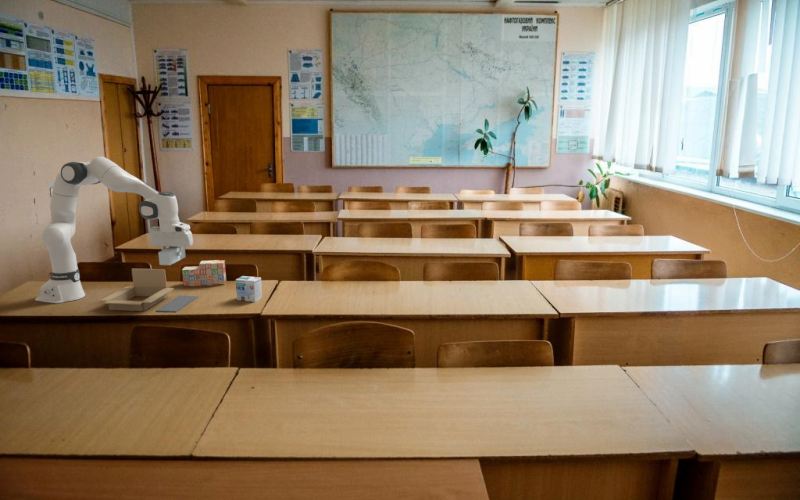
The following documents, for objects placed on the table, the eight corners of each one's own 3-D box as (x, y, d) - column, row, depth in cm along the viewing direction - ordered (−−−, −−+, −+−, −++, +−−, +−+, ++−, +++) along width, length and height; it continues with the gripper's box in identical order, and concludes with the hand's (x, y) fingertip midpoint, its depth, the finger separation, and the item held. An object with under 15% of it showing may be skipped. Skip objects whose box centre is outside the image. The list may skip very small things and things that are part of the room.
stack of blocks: (183, 286, 314) (181, 264, 311) (186, 283, 320) (183, 261, 317) (224, 285, 317) (222, 262, 314) (226, 281, 323) (224, 259, 320)
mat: (155, 311, 277) (155, 310, 276) (179, 296, 298) (179, 295, 298) (176, 312, 275) (176, 311, 275) (198, 297, 296) (198, 296, 296)
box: (159, 264, 274) (157, 248, 272) (175, 256, 289) (174, 240, 287) (169, 265, 274) (168, 248, 272) (185, 257, 288) (183, 240, 286)
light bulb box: (236, 300, 291) (234, 279, 289) (244, 296, 297) (242, 275, 295) (255, 302, 288) (254, 281, 286) (262, 298, 294) (261, 277, 292)
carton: (97, 311, 278) (93, 282, 274) (128, 294, 302) (124, 268, 298) (148, 313, 274) (144, 284, 271) (175, 296, 298) (172, 269, 295)
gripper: (145, 227, 276) (148, 256, 280) (186, 228, 273) (189, 257, 277) (152, 224, 282) (155, 253, 286) (193, 225, 279) (196, 254, 283)
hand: (172, 255), depth 281 cm, fingers closed on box, 5 cm apart
